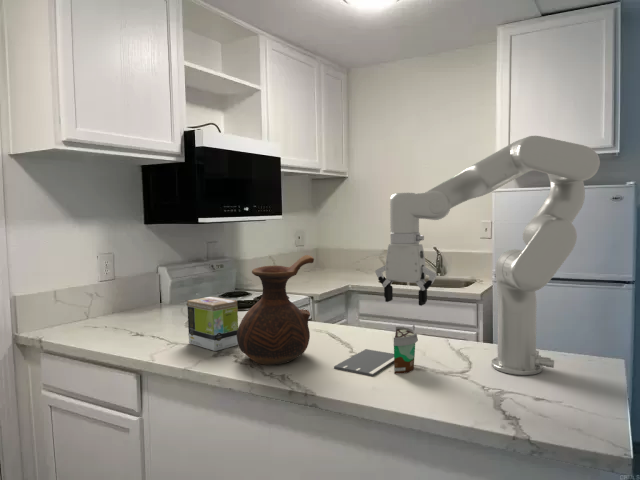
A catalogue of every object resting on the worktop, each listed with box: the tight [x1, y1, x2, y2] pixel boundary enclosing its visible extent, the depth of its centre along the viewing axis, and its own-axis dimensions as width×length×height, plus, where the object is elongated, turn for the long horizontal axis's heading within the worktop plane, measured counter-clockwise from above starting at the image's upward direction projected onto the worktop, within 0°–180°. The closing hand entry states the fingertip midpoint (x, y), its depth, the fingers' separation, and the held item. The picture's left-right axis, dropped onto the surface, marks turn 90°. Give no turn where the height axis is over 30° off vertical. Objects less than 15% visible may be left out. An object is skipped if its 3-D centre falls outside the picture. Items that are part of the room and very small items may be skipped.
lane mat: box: [333, 348, 394, 377], centre depth 137 cm, size 12×18×1 cm, turn 146°
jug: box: [237, 254, 315, 366], centre depth 142 cm, size 22×22×30 cm
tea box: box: [186, 296, 239, 352], centre depth 159 cm, size 15×10×15 cm
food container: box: [393, 326, 419, 375], centre depth 131 cm, size 12×6×10 cm, turn 168°
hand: (405, 302), depth 130 cm, fingers open, 9 cm apart
